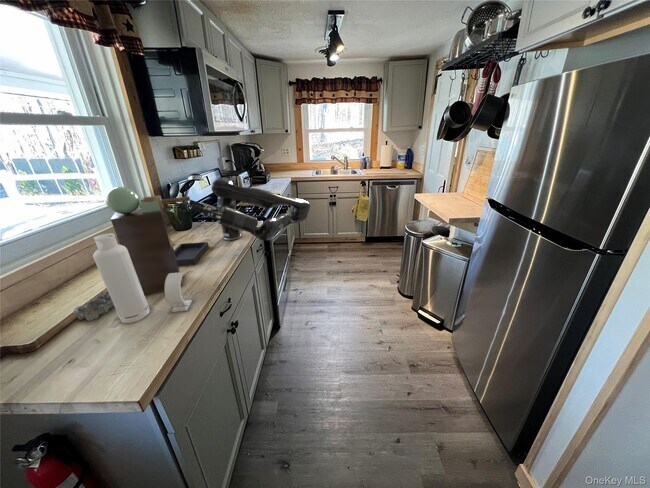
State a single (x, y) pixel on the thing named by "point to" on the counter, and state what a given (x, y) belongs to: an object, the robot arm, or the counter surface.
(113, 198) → the flask
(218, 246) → the counter surface
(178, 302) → the headphone stand
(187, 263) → the tray
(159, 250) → the stand
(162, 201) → the wooden mallet
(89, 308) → the grey rock
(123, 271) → the bottle
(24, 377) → the counter surface
